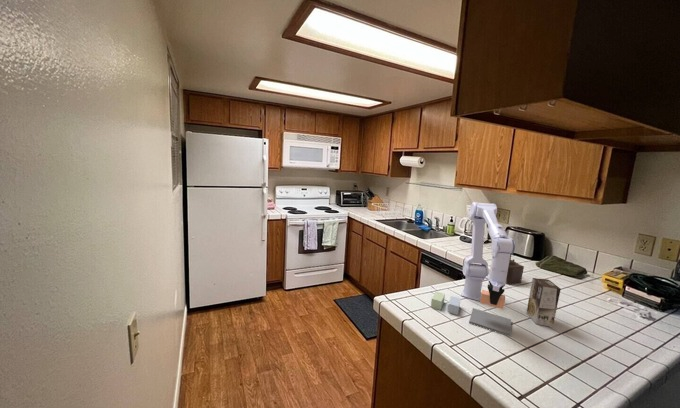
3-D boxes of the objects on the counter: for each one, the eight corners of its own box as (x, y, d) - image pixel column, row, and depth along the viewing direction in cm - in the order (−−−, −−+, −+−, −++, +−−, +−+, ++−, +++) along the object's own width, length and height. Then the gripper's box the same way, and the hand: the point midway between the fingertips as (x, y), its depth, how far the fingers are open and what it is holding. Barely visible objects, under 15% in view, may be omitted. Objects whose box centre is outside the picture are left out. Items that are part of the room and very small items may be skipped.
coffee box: (553, 327, 110) (561, 289, 108) (535, 324, 112) (543, 286, 109) (542, 315, 119) (549, 279, 116) (525, 312, 120) (532, 277, 118)
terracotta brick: (480, 302, 110) (481, 293, 110) (480, 298, 114) (482, 289, 113) (503, 309, 106) (505, 299, 106) (503, 305, 110) (505, 295, 109)
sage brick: (434, 299, 127) (435, 291, 126) (443, 302, 125) (445, 294, 124) (430, 307, 120) (431, 298, 119) (440, 310, 118) (441, 301, 117)
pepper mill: (522, 282, 151) (528, 250, 148) (508, 285, 147) (514, 252, 144) (497, 271, 165) (502, 241, 162) (483, 273, 161) (488, 242, 158)
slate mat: (472, 309, 120) (472, 307, 120) (510, 321, 113) (511, 319, 113) (469, 323, 110) (469, 321, 109) (510, 336, 103) (510, 334, 102)
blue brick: (449, 304, 124) (450, 295, 123) (459, 306, 122) (460, 298, 121) (447, 312, 117) (448, 303, 116) (457, 315, 115) (459, 306, 114)
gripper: (488, 260, 116) (483, 291, 118) (485, 271, 103) (480, 306, 106) (508, 265, 112) (503, 296, 114) (508, 277, 100) (502, 312, 102)
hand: (493, 301), depth 110 cm, fingers closed on terracotta brick, 4 cm apart
